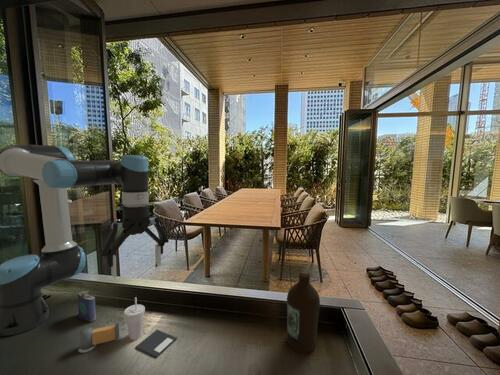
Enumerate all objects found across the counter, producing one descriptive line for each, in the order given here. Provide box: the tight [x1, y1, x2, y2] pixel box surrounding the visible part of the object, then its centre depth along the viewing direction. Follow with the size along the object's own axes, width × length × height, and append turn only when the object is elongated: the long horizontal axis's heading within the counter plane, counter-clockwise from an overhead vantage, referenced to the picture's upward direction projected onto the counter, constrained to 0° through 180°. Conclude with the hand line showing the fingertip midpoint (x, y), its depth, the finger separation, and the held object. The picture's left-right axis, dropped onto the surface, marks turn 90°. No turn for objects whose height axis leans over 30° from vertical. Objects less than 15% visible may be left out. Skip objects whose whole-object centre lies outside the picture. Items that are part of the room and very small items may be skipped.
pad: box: [135, 329, 178, 359], centre depth 81 cm, size 9×9×1 cm
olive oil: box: [286, 268, 321, 354], centre depth 82 cm, size 11×11×25 cm
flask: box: [77, 290, 97, 323], centre depth 93 cm, size 9×3×11 cm, turn 61°
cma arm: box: [79, 322, 120, 350], centre depth 80 cm, size 11×4×5 cm, turn 113°
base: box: [77, 344, 98, 354], centre depth 79 cm, size 5×5×1 cm
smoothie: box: [123, 296, 146, 341], centre depth 84 cm, size 6×6×14 cm
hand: (137, 269), depth 80 cm, fingers open, 13 cm apart
